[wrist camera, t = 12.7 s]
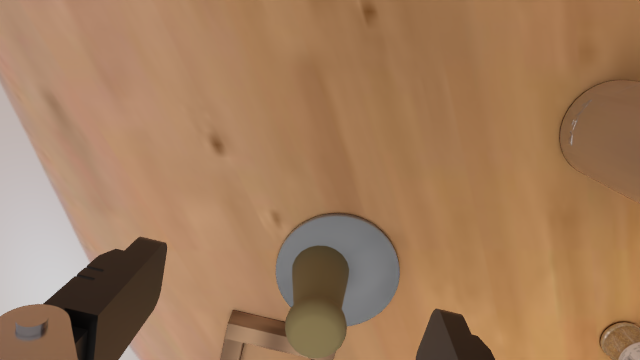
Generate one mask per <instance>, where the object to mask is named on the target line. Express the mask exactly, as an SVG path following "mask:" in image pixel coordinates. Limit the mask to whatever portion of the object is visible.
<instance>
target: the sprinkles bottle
mask: <svg viewBox="0 0 640 360" xmlns="http://www.w3.org/2000/svg"><path fill="white" fill-rule="evenodd" d="M600 343H601V344H600V345H601V348H602V349H603V351H604V352H605V353H606V354H607V355H608V356H610V357H611V359H612V360H640V328H639V327H638V326H636V325H635V324H632V323H626V322H622V323H617V324H614V325H612V326H610V327H609V328H608V329H606V330H605V331H604V333H603V334H602V337H601V341H600Z"/></svg>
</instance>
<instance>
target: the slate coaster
mask: <svg viewBox="0 0 640 360" xmlns="http://www.w3.org/2000/svg"><path fill="white" fill-rule="evenodd" d="M317 245H319V246H328V247H331V248H333V249H336V250H337V251H338V252H340V253H341V254H342V255H343V256H344V258H345V259H346V261H347V263H348V267H349V277H348V282H347V287H346V292H345V296H344V301H343V306H342V311H343V313H344V315H345V319H346V322H347V326H352V325H356V324H360V323H362V322H365V321H367V320H369V319H371V318H373V317H375V316H376V315H377V314H379V313H380V312H381V311H382V310H383V309H384V308H385V307H386V306H387V305H388V304H389V302H390V301H391V299H392V298H393V296H394V294H395V292H396V290H397V286H398V283H399V275H400V273H399V263H398V258H397V255H396V252H395V249H394V247H393V245H392V243H391V241H390V240H389V239H388V237H387V236H386V235H385V234H384V233H383V231H382V230H380V229H379V228H378V227H377V226H376V225H374V224H372V223H371V222H369V221H367V220H365V219H363V218H361V217H357V216H354V215H350V214H342V213H332V214H324V215H320V216H317V217H313V218H311V219H309V220H307V221H305V222H303V223H302V224H300V225H299V226H297V227H296V228H295V229H294V230H293V231H292V232H291V233H290V234H289V235H288V237H287V238H286V239H285V241H284V243H283V245H282V247H281V249H280V252H279V255H278V259H277V264H276V279H277V284H278V287H279V290H280V292H281V294H282V296H283V298H284V299H285V301H286V302H287V303H288V305H289V306H290V307H292V306H293V283H292V265H293V263H294V260H295V258H296V257H297V256H298V255H299V254H300V252H301V251H303V250H305V249H307V248H309V247H313V246H317Z"/></svg>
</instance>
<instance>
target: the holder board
mask: <svg viewBox="0 0 640 360" xmlns="http://www.w3.org/2000/svg"><path fill="white" fill-rule="evenodd" d="M244 343H247V344H251V345H255V346H259V347H264V348H268V349H272V350H276V351H281V352H285V353H289V354H293V355H298V356H302V357H306V356H303V355H301V354H299V353H298V352H297V351H295V350H294V349H293V347H292V346H291V345H290V343H289V342H288V339H287V336H286V332H285V322H282V321H278V320H273V319H269V318H265V317H261V316H257V315H252V314H248V313H244V312H240V311H235V310H233V312H232V314H231V317H230V319H229V322H228V325H227V330H226V335H225V339H224V344H223V349H222V354H221V358H220V360H240V358H241V354H242V350H243V345H244ZM335 352H336V351H335ZM335 352H334V353H333V354H331V355H329V356H327V357H323V358H318V359H317V358H311V360H333V359H334V356H335ZM306 358H308V357H306Z"/></svg>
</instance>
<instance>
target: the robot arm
mask: <svg viewBox="0 0 640 360" xmlns="http://www.w3.org/2000/svg"><path fill="white" fill-rule="evenodd" d="M560 144H561V149H562V152H563V154H564V157H565V158H566V160H567V161H568V162H569V164H570V165H571V166H573V167H574V168H575V169H576V170H578V171H579V172H581V173H583V174H585V175H587V176H589V177H591V178H593V179H595V180H596V181H598V182H600V183H602V184H604V185H605V186H607V187H609V188H611V189H613V190H615V191H617V192H619V193H621V194H623V195H624V196H626V197H628V198H630V199H632V200H634V201H636V202H638V203H640V82H637V81H629V80H614V81H608V82H604V83H602V84H599V85H596V86H594V87H593V88H591V89H589V90H587V91H586V92H584V93H583V94H582V95H581V96H580V97H579V98H577V99H576V101H575V102H574V103H573V104H572V105H571V107H570V108H569V110H568V111H567V113H566V115H565V117H564V119H563V122H562V126H561V130H560ZM166 253H167V244H166V243H164V242H160V241H156V240H152V239H148V238H144V237H139V238H137V239H136V240H135V241H134V242H133V243H132V244H131V245H130V246H129V247H128V248H127V249H126V250H125V251H123V250H118V249H114V250H112V251H109V252H107V253H104V254H102V255H99V256H98V257H97V258H95V259H94V260H93V261H92V262H91V263H90V264H89V265H88V266H87V268H84V269H83V270H82V271H81V272H79V273H78V274H77V277H74V278H72V279H71V280H70V281H69V282H68V283H67V284H66V285H65V286H63V287H62V288H61V289H60V290H59V291H57V292H56V293H55V294H54V295H53V296H52V297H51V298H50V299H48V300H47V301H46V302H45V303H44V304H35V305H28V306H23V307H19V308H16V309H13V310H11V311H9V312H7V313H5V314H3V315H2V316H0V360H118V359H119V358H120V357H121V355H122V354H123V352H124V351H125V349H126V348H127V347H128V345H129V344H130V343H131V341H132V340H133V338H134V337H135V335H136V334H137V333H138V331H139V330H140V328H141V327H142V326H143V324H144V323H145V321H146V320H147V318H148V317H149V316H150V314H151V313H152V311H153V310H154V308H155V306H156V304H157V301H158V299H159V296H160V292H161V286H162V280H163V273H164V266H165V260H166ZM416 360H495V358H494V356H493V354H492V352H491V350H490V349H489V348H488V347H487V346H486V345H485V344H484V343H483V342H482V340H481V339H480V338H479V337H478V336H475V335H472V334H471V332H470V330H469V328H468V326H467V323H466V321H465V319H464V317H463V316H462V315H461V314H457V313H453V312H449V311H445V310H440V309H435V310H434V311H433V313H432V315H431V317H430V320H429V322H428V325H427V328H426V330H425V333H424V336H423V338H422V341H421V343H420V346H419V349H418V351H417V355H416Z"/></svg>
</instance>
